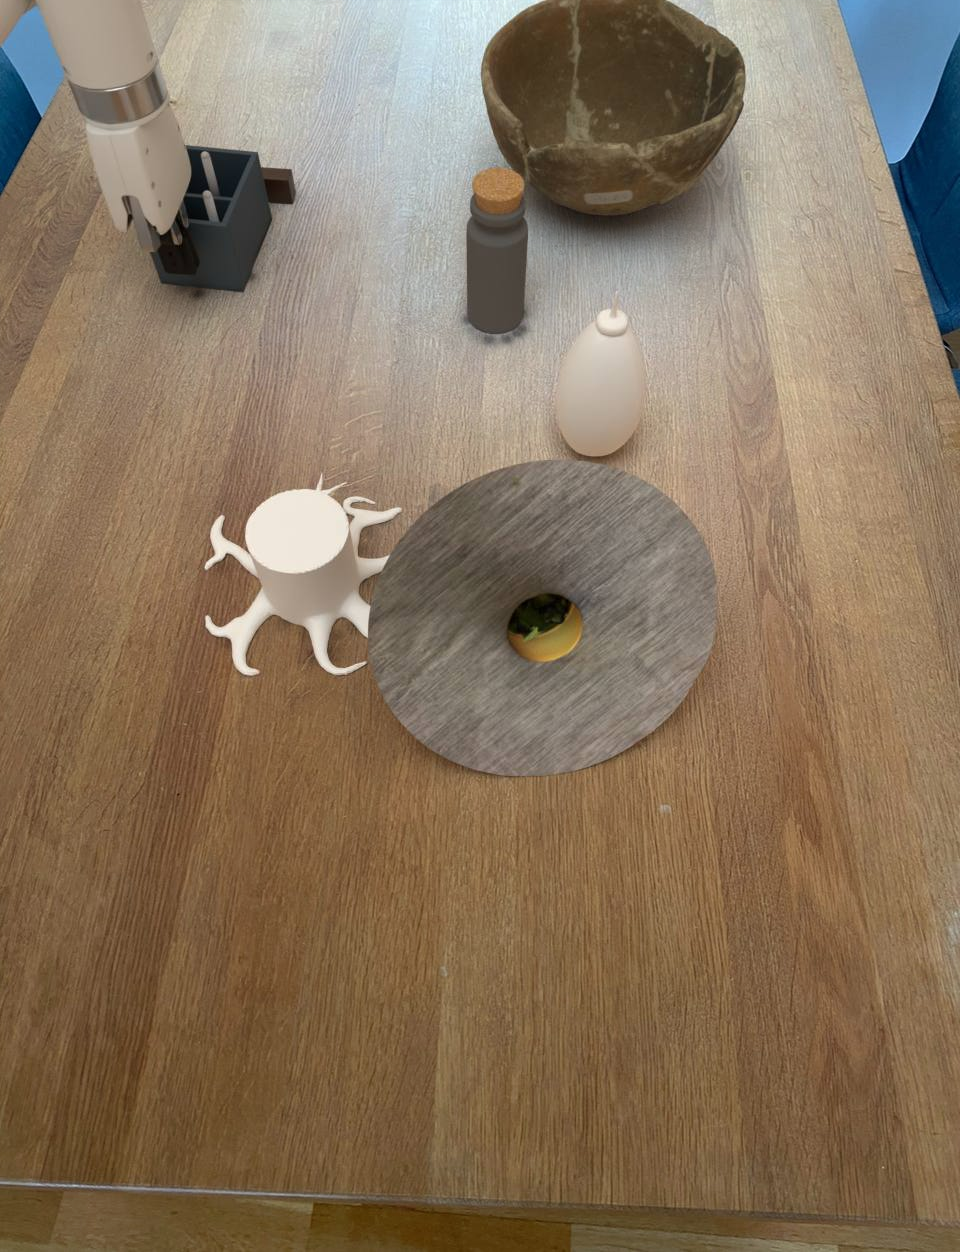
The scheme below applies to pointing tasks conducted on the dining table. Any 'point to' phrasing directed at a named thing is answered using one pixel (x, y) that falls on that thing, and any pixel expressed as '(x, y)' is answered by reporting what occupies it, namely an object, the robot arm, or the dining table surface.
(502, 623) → the grey flared vase
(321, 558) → the tree stump
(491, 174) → the bottle
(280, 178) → the rail
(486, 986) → the dining table surface
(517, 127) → the bowl
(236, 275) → the cutlery holder
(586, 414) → the sauce bottle
